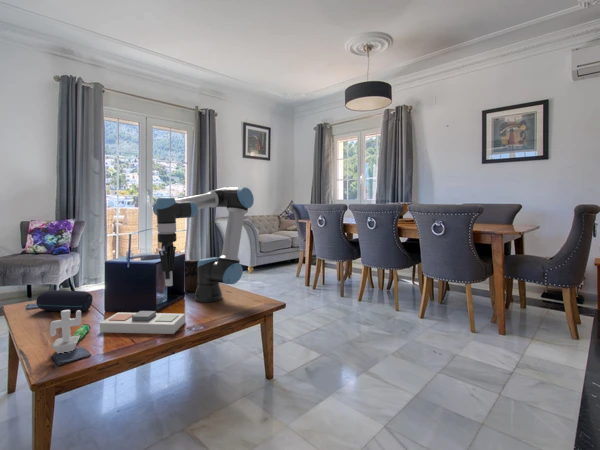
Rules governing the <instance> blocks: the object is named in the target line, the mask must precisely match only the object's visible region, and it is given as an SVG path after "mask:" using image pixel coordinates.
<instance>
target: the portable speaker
mask: <svg viewBox="0 0 600 450" xmlns="http://www.w3.org/2000/svg"><path fill="white" fill-rule="evenodd" d="M35 303H36V306H37V308H39V309H41V310H43V311H46V312H47V311H48V312H49V311H50V312H61V311H63V310H70V313H71V312H72V313H73V312H75V313H76V311H78V310H80V311H81V313H83V312H86V311H88V310H89V309H90V308H91V306H92V304H93V295H92V294H91V293H89V292H87V291H84V290H59V289H58V290H57V289H51V290H46V291H43V292H41V293H40V294H39V295H38V296H37V297H36V301H35Z"/></svg>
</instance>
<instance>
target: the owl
mask: <svg viewBox="0 0 600 450" xmlns="http://www.w3.org/2000/svg"><path fill="white" fill-rule="evenodd" d="M199 260H200V259H189V260H188V259H187V260H184V261H185V292H186V293H185V294H195V293H196V289H197V286H198V277H197V266H198V261H199Z"/></svg>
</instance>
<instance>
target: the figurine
mask: <svg viewBox="0 0 600 450" xmlns="http://www.w3.org/2000/svg"><path fill="white" fill-rule="evenodd" d="M60 317H61V319H59V320H58V319H57V320H52V321H51V322H50V324H49V335H50V336H51V337H55V336H56V334H57V329H61V333H62V334H61V337H59V338H56V339H55V341H54V342H53V344H52V346H51V347H52V349H54V351H55V352H56V354H58V355H60V354H59V353H62V354H65V353H64V352H68V353H70V352H69V351H73V350H74V351H75V349H76V346H77V343H79V341H78V340H79V337H80V335H79V336H72V333H71V332H72V331H71V328H72V327H76V326H80V325H81V324H82V312H81V311H80V310H78V311H76V312H75V318H74V317H73V318H71V312H70V310H63V311H60ZM71 336H72V337H71ZM74 351H73V352H74Z"/></svg>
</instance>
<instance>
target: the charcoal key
mask: <svg viewBox="0 0 600 450" xmlns="http://www.w3.org/2000/svg"><path fill="white" fill-rule="evenodd" d="M135 313H136V314H135V315H133V316H132V321H145V322H149V321H150V320H151V319H153V318H154V317H155V316H156V313H157V311H156V310H139V311H138V312H135Z"/></svg>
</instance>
